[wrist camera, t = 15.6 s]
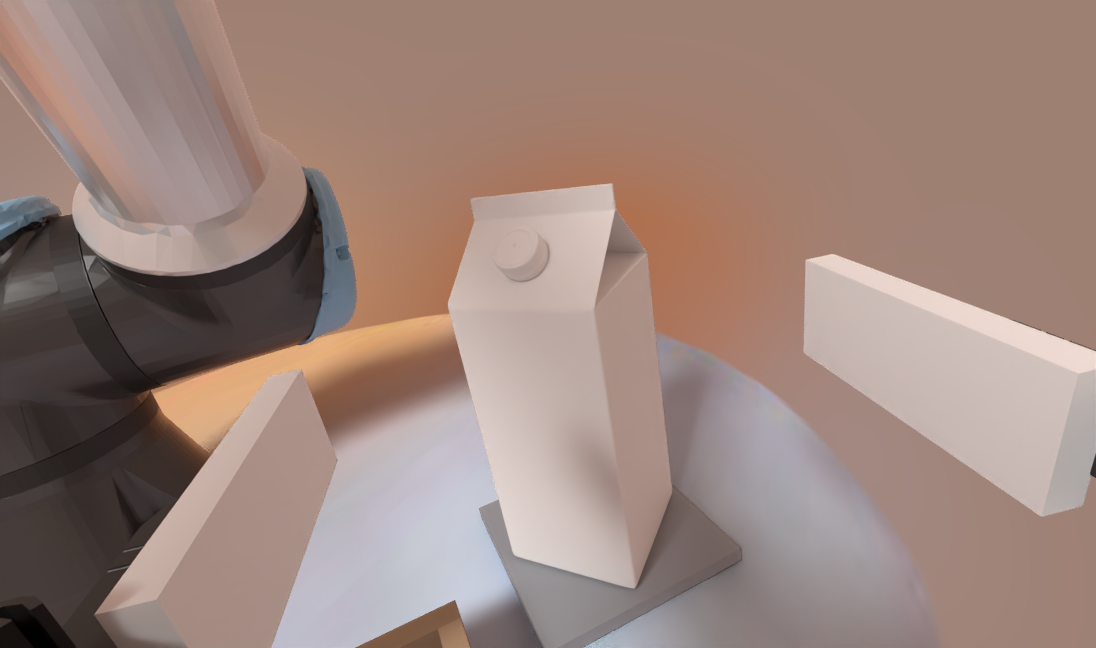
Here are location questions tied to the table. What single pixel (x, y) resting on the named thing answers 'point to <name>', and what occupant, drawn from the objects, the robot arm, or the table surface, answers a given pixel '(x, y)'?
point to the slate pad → (601, 607)
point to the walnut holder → (426, 632)
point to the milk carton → (565, 378)
